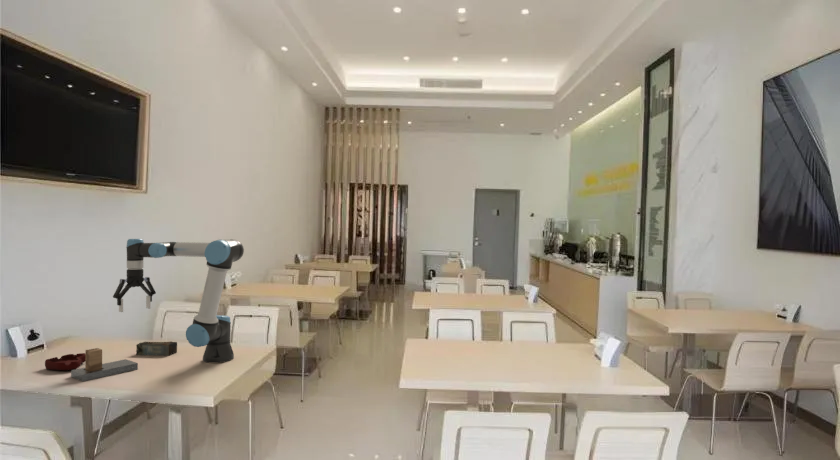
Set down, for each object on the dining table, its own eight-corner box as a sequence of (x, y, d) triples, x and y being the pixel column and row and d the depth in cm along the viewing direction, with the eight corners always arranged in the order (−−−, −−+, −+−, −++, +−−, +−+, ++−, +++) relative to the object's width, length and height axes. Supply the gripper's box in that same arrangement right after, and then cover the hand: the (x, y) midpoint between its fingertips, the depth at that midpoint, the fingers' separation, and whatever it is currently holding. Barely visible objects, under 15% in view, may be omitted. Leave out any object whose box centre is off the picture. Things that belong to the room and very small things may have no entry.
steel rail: (137, 369, 245) (137, 363, 245) (82, 381, 225) (82, 374, 225) (125, 365, 251) (125, 359, 251) (71, 376, 232) (71, 370, 232)
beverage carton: (144, 351, 279) (144, 339, 279) (178, 352, 278) (178, 340, 278) (135, 355, 271) (135, 343, 271) (169, 356, 270) (170, 344, 270)
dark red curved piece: (51, 364, 252) (51, 355, 252) (89, 362, 257) (89, 352, 257) (38, 375, 235) (38, 364, 235) (79, 371, 241) (79, 361, 241)
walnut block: (102, 375, 235) (102, 349, 235) (90, 377, 231) (90, 351, 231) (97, 373, 238) (97, 348, 237) (85, 375, 233) (85, 350, 233)
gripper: (155, 266, 270) (155, 306, 270) (105, 270, 249) (105, 312, 249) (162, 267, 266) (162, 307, 266) (112, 270, 245) (112, 314, 245)
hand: (134, 310), depth 258 cm, fingers open, 13 cm apart
